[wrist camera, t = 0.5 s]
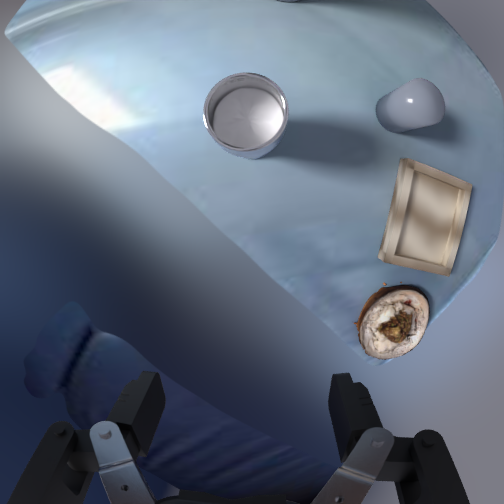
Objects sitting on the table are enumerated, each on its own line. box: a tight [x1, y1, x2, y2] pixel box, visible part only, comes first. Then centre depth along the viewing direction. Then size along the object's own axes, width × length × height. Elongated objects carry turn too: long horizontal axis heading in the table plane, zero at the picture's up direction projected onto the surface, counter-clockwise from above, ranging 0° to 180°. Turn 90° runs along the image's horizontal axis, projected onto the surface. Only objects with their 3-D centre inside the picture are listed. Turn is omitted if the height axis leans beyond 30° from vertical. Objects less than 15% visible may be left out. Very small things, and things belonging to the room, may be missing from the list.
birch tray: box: [378, 158, 472, 276], centre depth 36 cm, size 14×12×2 cm
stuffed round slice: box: [352, 282, 430, 360], centre depth 40 cm, size 15×15×4 cm
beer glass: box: [203, 73, 289, 159], centre depth 28 cm, size 7×7×15 cm
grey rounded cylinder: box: [376, 78, 445, 133], centre depth 29 cm, size 6×6×9 cm
